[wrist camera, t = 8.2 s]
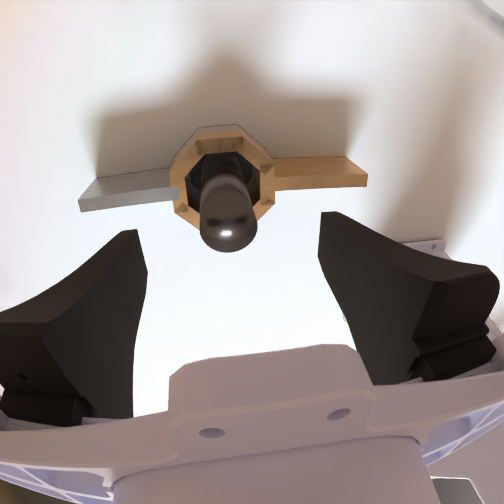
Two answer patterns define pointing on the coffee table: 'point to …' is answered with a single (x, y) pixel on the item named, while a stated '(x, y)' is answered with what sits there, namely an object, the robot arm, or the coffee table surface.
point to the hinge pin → (225, 205)
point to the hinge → (218, 141)
